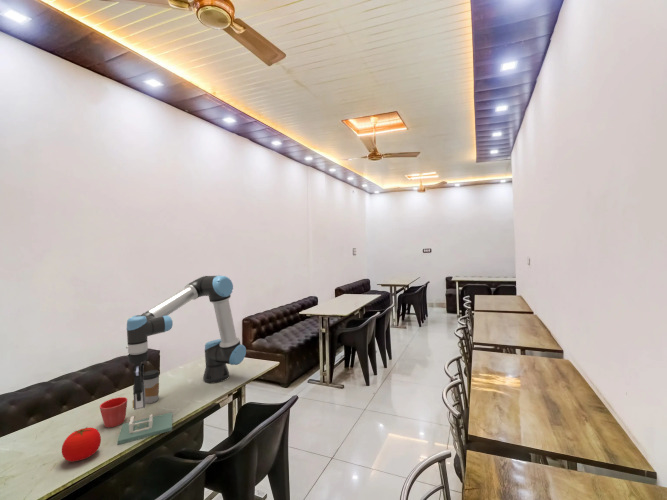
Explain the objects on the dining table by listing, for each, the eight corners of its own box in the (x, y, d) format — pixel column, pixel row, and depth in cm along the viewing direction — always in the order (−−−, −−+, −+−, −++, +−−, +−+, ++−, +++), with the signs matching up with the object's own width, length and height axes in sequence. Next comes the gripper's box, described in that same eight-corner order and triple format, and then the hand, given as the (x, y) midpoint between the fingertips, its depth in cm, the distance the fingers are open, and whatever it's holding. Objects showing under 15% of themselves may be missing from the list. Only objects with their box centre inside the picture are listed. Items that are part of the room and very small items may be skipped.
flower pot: (98, 432, 141) (97, 410, 141) (102, 421, 151) (101, 400, 151) (126, 425, 146) (125, 404, 146) (129, 414, 156) (128, 394, 156)
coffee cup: (152, 405, 165) (151, 376, 165) (138, 404, 167) (137, 375, 167) (164, 397, 173) (162, 369, 173) (150, 396, 175) (149, 369, 175)
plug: (145, 403, 144) (144, 381, 144) (144, 407, 140) (143, 384, 140) (133, 406, 142) (132, 383, 142) (132, 410, 138) (131, 386, 138)
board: (172, 415, 153) (171, 403, 153) (172, 430, 140) (171, 417, 140) (122, 427, 145) (122, 415, 144) (117, 444, 131) (116, 431, 131)
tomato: (99, 444, 132) (98, 418, 132) (103, 457, 123) (101, 430, 123) (62, 457, 124) (60, 430, 124) (62, 472, 116) (61, 443, 116)
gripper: (130, 348, 147) (132, 399, 147) (125, 359, 132) (127, 416, 132) (149, 346, 151) (151, 395, 150) (146, 355, 135) (148, 411, 135)
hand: (140, 405), depth 141 cm, fingers closed on plug, 4 cm apart
